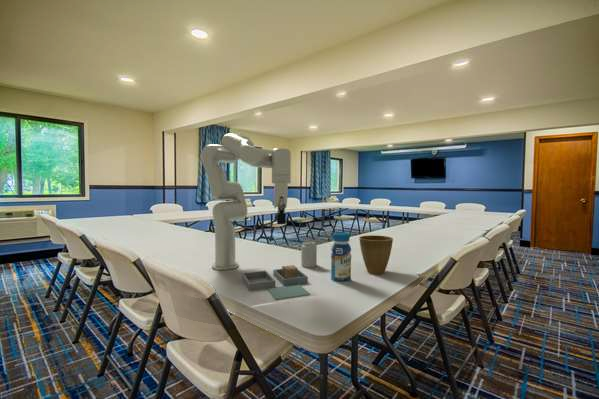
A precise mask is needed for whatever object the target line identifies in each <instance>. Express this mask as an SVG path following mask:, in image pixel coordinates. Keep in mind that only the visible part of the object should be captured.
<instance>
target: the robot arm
mask: <svg viewBox="0 0 599 399" xmlns="http://www.w3.org/2000/svg"><path fill="white" fill-rule="evenodd" d="M220 142H221V144H207V145H204V147H203V149H202V151H201V162H202V165H203V168H204V171H205V173H206V175H207V180H208V185H209V189H210V193H211V196H212V199H214V200H215V201H220V202H218V203H215V205H214V206H213V208H212V217H213V223H214V249H215V250H214V254H215V255H214V256H215V257H214V259H215V260H214V263H212V264H211V268H212V269H214V270H217V271H219V270H220V271H228V270H233V269H237V268H239V265H240V264H239V262H238V261H236V229H235V226H234V224H233V223H232V222H234V221H241V220H244V219H246V218H247V215H248V206H247V202H246V201H247V200H246V198H245V194H244V190H243V187H242V185H241V184H240V183H239V182H238V181H229V180H228V179H227V177H226V173H225V171H224V169H223V167H222V166H221V165H220V164H219V163H224V164H235V163H236V162H238V161H239V160H240V161H241V162H243V163H245V164H247V165H249V166H251V167H255V168H264V169H271V184H273V185H274V186H273V187H274V188H273V205H274V206H273V208H275V209H276V208H277V213H276V223H277V225H286V209H287V206H288V196H289V195H288V194H289V193H288V189H289V188H288V184H291V183H292V182H291V180H292V179H291V178H292V176H291V175H292V174H291V171H292V170H291V167H292V166H291V164H292V163H291V161H292V157H291V155H292V154H291V150H290V149H288V148H285V147H282V148H281V147H280V148H279V147H277V148H273V150H272V149H265V148H259V147H255V144H254V143H253V141H252V140H251V139H250V137H249V136H247V135H241V134H237V133H226V134H224V136H222V138H221V140H220Z"/></svg>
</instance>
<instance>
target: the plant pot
mask: <svg viewBox="0 0 599 399" xmlns="http://www.w3.org/2000/svg"><path fill="white" fill-rule="evenodd" d="M393 239H394V238H393V237H391V236H387V235H377V234H376V235H370V234H369V235H361V236H359V237H358V240H359V244H360V245H359V246H360V251H361V256H362V259H363V262H364V265H365V268H366V272H367V273H368V274H372V275H383V274H384V273H386V269H387V266H388V264H389V260H390V257H391V252H392V249H393V248H392V247H393V242H394V240H393Z"/></svg>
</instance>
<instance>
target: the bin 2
mask: <svg viewBox="0 0 599 399" xmlns="http://www.w3.org/2000/svg"><path fill="white" fill-rule="evenodd" d="M272 273H273V274H272V277H273V278H274V279H276V280H277V281H278V282H279V283H280V284H281V285H282V286H288V285H296V284H300V285H302V284H308V282H309V280H308V279H309V277H308V276H307V274H305V273H303V271H301V270H300V269H298V277H297V278H289V279H284V278H283V277H282V268H277V269H273V271H272Z"/></svg>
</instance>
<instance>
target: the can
mask: <svg viewBox="0 0 599 399" xmlns="http://www.w3.org/2000/svg"><path fill="white" fill-rule="evenodd" d="M300 248H301V250H300V251H301V253H300V254H301V261H300V262H301V263H300V264H301V267H304V268H306V269H310V268H311V269H312V268H315V267H317V261H318V258H317V254H318V251H317V250H318V248H317V244H316V242H314V241H304V242H302V245H301V247H300Z"/></svg>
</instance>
